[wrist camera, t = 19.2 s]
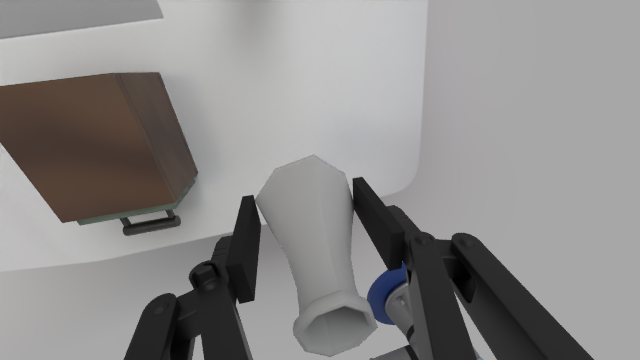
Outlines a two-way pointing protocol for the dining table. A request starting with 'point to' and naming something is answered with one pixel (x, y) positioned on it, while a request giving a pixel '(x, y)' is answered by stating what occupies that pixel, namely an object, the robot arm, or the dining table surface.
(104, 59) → the dining table surface
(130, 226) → the drawer
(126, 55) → the dining table surface
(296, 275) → the flask
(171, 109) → the cabinet
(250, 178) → the dining table surface
